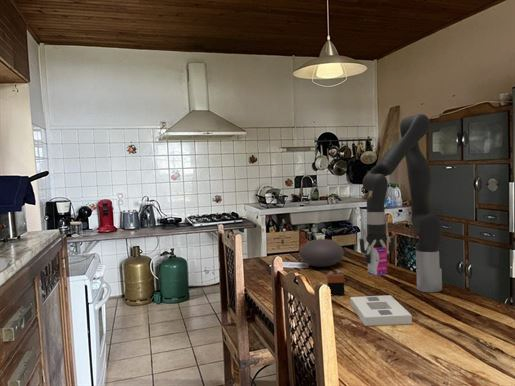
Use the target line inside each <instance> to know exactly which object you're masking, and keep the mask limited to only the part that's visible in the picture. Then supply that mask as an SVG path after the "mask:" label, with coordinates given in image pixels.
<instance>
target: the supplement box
mask: <svg viewBox="0 0 515 386" xmlns="http://www.w3.org/2000/svg"><path fill="white" fill-rule="evenodd" d="M369 247H370V245H369ZM386 247H387V246H386ZM386 247H383V246H382V247H373V248H372V250H371V251H370V253H369V255H370V264H368V263H367V274H369V275H372V276H373V277H377V276H387V275H388V263H387V249H388V247H387V248H386Z"/></svg>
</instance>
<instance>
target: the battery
mask: <svg viewBox="0 0 515 386" xmlns="http://www.w3.org/2000/svg"><path fill="white" fill-rule="evenodd" d="M326 276H327V277H326V278H327V287H328V286H329V287H330V289H331V294H332V295H333V296H334V295H337V296H345V295H346V293H345V275H344V273H343V271H342V270H336V271H335V272H334V271H329V272H327V273H326ZM334 297H335V296H334Z"/></svg>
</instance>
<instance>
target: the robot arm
mask: <svg viewBox="0 0 515 386" xmlns="http://www.w3.org/2000/svg"><path fill="white" fill-rule="evenodd" d="M430 127H431V121H430V118H429V117H428V116H427V115H425V114H422V113H420V114H415V115H409V116H406V117H404V118H403V119H402V120H401V121H400V124H399V132H400V137H401V138H400V139H399V140H398V141H397V142H396V143H395V144H393V145H392V146H391V147H390V148H389V149H388V150H387V151H386V152H385V153H384V155H383V156H382V157H381V159H380V160H379V162H378V163H377V164H376V165H374V166H373V167H372V168H371V169H370V170H369V171H368V172H367V173H366V174H365V176H363V179H362V187H363V189H365V190H366V191H370V192H372V193H371V196H370V197H368V198H367V199H366V217H365V218H366V237H363V238H362V237H360V238H359V239H358V241H359V248H360V249H359V250H360V253H362V254H365V262H366V263H367V265H368V264H370V255H369V253H370V251H371V250H372V248H373V247H382V246H383V247H386V248H387V264H388V263H389V261H390V253H393V252H394V250H395V247H394V246H395V238H394V236H387V223H386V222H387V220H386V213H385V209H386V207H385V201H386V196H387V192H388V187H389V186H388V185H389V184H388V183H389V182H388V179H387V177H388V176H390V175H392V174H393V173H394V171H395V170H396V169H397V167H398V166H399V164H400V163H401V162H402V161H403V159H404V158H405V162H406V170H407V179H408V184H409V185H408V186H409V192H410V193H409V194H410V199H411V200H410V201H411V212H412V213H411V222H412V227H413V229H414V230H415V231H416V232H417V233H418V241H417V242H416V244H415V263H416V264H415V265H416V289H417V291H420V292H423V293H438V292H442V291H443V276H442V275H443V274H442V271H443V270H442V268H441V267H440V245H441V242H442V225H441V224H442V223H441V220H440V218H439V217H438V216H437V215H435V214H433V213H431V209H430V200H429V198H430V194H431V193H430V192H431V190H432V189H431V188H432V183H433V181H432V171H431V166H430V163H429V161H428V160H427V158H426V157H425V156H424V154H423V152H422V151H421V148H420V145H419V141H420V140H421V139H423V137H424V136H425V135H426V134H427V133H428V132H429V130H430ZM386 176H387V177H386ZM366 242H367V243H368V244H367V246H366V248H365V244H366ZM386 242H388V247H387V245H386V244H385V243H386ZM369 246H370V247H369Z"/></svg>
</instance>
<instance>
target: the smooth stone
mask: <svg viewBox="0 0 515 386" xmlns="http://www.w3.org/2000/svg"><path fill="white" fill-rule="evenodd" d="M344 252H345V251H344V248H343V247H342V246H341V245H340V244H339V243H338V242H336V241H334V240H331V239H325V238H317V239H313V240H309V241H307V242H305V243H304V244H303V245H302V246H301V247H300V249H299V253H298V254H299V257H300V259H301V260H302V262H304V263H306V264H307V265H309V266H312V267H321V268H322V267H323V268H324V267H330V266H331V267H332V266H333V265H336V264H337V263H339V262H340V261H341V260H342V259H343V257H344Z"/></svg>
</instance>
